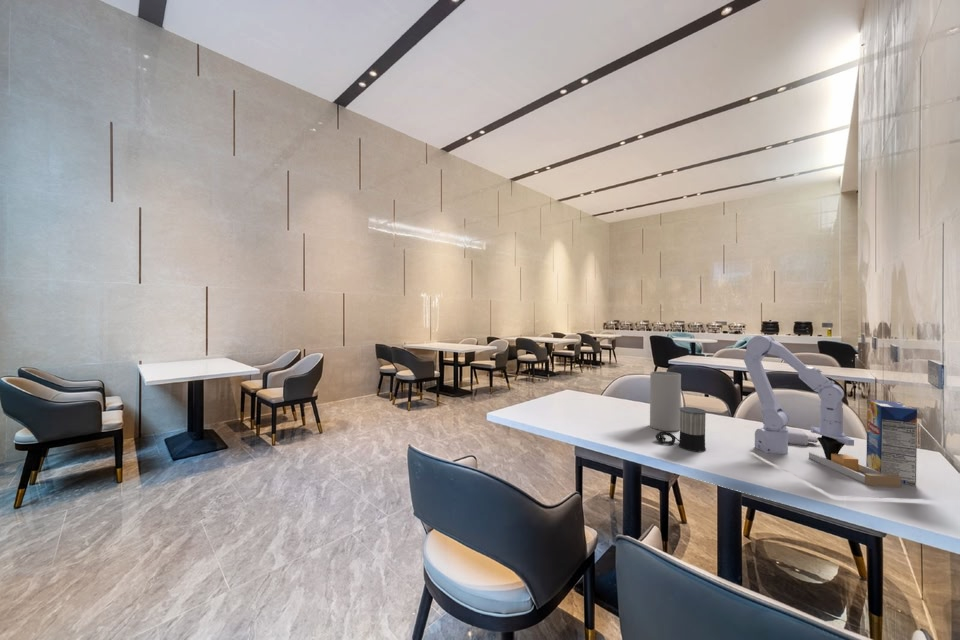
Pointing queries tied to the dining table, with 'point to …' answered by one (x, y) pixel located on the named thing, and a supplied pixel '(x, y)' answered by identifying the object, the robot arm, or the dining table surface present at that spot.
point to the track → (861, 473)
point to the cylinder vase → (665, 400)
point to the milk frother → (689, 430)
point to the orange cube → (845, 461)
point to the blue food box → (892, 439)
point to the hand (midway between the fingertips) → (830, 459)
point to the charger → (800, 437)
